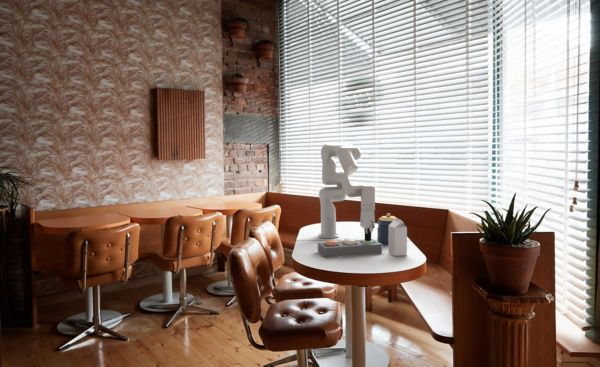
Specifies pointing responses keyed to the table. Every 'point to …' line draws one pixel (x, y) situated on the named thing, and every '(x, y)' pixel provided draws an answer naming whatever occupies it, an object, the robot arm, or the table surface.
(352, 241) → the button cream
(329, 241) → the button terracotta
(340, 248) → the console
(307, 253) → the table surface
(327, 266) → the table surface
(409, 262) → the table surface
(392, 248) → the milk carton
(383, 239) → the canister
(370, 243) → the button sage
